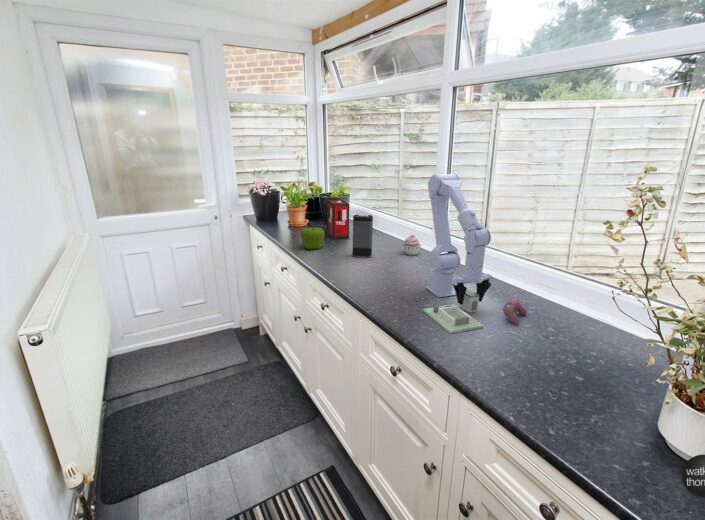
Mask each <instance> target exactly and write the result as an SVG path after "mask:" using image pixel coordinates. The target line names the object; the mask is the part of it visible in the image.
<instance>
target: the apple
mask: <svg viewBox="0 0 705 520" xmlns="http://www.w3.org/2000/svg"><path fill="white" fill-rule="evenodd" d="M300 236H301V238H300V239H301V242H302V246H303V247H304V248H305V249H307V250H309V249H310V250H312V251H313V250H314V251H315V250H318V249H320V248H321V247H322V246H323V245H324V240H325V236H326V235H325V230H324V229H323V228H321V227H318V226H317V227H313V226H311V227H310V226H308V227H305V228H303V229H301V231H300ZM310 250H309V251H310Z"/></svg>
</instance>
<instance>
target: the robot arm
mask: <svg viewBox="0 0 705 520" xmlns="http://www.w3.org/2000/svg"><path fill="white" fill-rule="evenodd" d="M427 187H428V188H427V189H428V195H429V199H430V203H431V213H432V219H433V228H434V236H435V242H436V246H435V247H434V248H433V249H431V251H430V261H429V262H430V266H431V269H430V271H429V275H428V285H427V286H426V289H427V290H428V291H430V292H431V293H432V294H434V295H435V296H436V297H438V298H445V297H450V296H456V301H457V303H458V304H459V306H460V305H463V301H464V295H465V292H466V290H468V287H467V286H465V284H470V283H476V285H475V286H476V292H475V293H477V294H479V302H478V303H481V302H482V301H483V299H484V296H485V294H486V292H487V291H488V290H489V288H490V287H492V286H491V285H492V283H491V282H492V280H493V275H491V274H489V273H485V274H484V273H483V271H484V270H483V269H484V262H485V261H484V260H485V253H486V248H487V247H486V246H488V245H489V244H490V242H491V239H492V236H491V232H490V230H489V229H488V228H486V227H484V225H482V224H481V222H480V221H479V218H478V216H477V214H476V211H475V210H473V209H470V208H469V207H468V204H467V202H466V199H465V197H464V194H463V191H462V189H461V187H462V181H461V179H460V177H459V175H458V174H457V173H447V174H442V173H441V174H437V173H436V174H435V173H434V174H431V176H430V177H429V180H428V181H427ZM448 199H450V201H451V203H452V204H453V206H454V208H455V209H456V211H457V213H458V215H457V221H458V222H459V225H460V227H461V229H462V231H463V232H464V236H463V240H464V241H463V242H464V243H465V251H466V255H465V261H464V262H465V263H464V272H463V275H460V276H456V277H455V272H456V271H457V269H458V268H460V266H461V257H460V255H459V251H458V248H457V246H455V245H454V244H452V238H451V231H450V224H449V223H450V222H449V217H448V216H449V215H448V209H447V208H448V207H447V201H448ZM453 289H454V290H453Z"/></svg>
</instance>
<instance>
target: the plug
mask: <svg viewBox="0 0 705 520" xmlns="http://www.w3.org/2000/svg"><path fill="white" fill-rule="evenodd" d="M479 303H480V302H479V294H477V293H476V292H475V291H474V290H472V289H467V290H466V292H465V295H464V301H463V305H460V304H459V308H460V309H461V308H462V310H463V311H465V312H466V313H474V312H477V311H478V310H479V309H478V308H479Z"/></svg>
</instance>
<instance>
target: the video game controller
mask: <svg viewBox="0 0 705 520" xmlns="http://www.w3.org/2000/svg"><path fill="white" fill-rule="evenodd" d="M502 311H503V314H504V316H505V317H506V318H507V319H508V320H509V321H510V322H511V323H513V324H514V325H520V324H521V323H520V321H521V320H520V318H519V317H518V316H517V314H519V315H522V316H527V315H528V310H527V309H526V308H525V307H524V306H523V305H522V304H521V303H520V301H519V300H517V299H516V298H515V299H514V298H511V299H508V300H507V301H506V303H505V304H504V305H503V306H502Z"/></svg>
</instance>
